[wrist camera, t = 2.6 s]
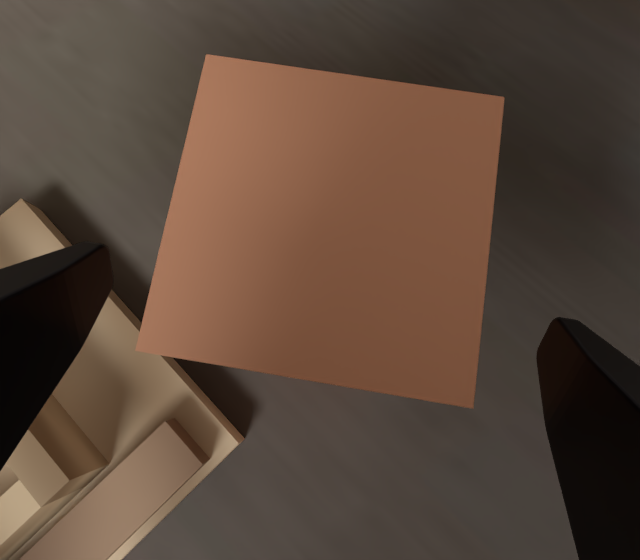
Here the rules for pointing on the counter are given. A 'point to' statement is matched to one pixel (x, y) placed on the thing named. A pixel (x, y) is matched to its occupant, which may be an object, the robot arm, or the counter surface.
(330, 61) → the counter surface
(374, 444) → the counter surface
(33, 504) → the jig
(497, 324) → the counter surface
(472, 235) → the block
